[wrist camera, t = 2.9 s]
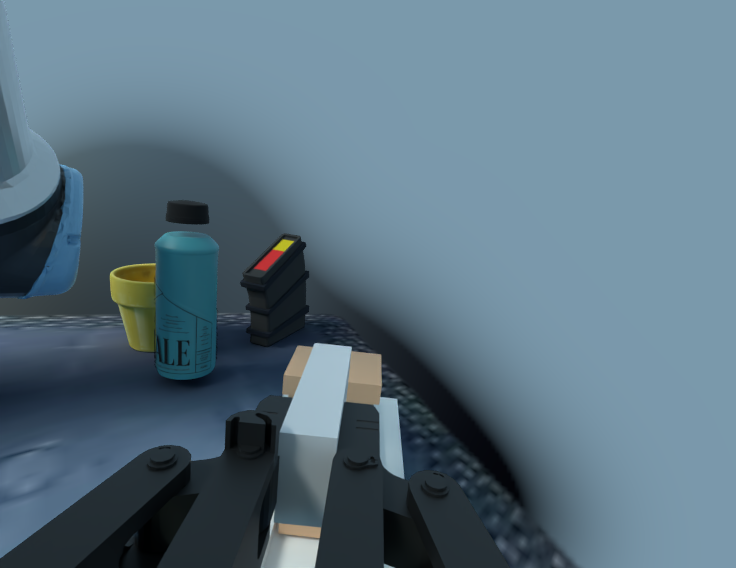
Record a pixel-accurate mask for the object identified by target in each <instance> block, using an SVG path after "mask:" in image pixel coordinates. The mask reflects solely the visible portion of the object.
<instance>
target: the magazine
mask: <svg viewBox="0 0 736 568" xmlns="http://www.w3.org/2000/svg"><path fill="white" fill-rule="evenodd" d="M305 247H306V243H305V242H301V237H300V236H297V235H291V234H282V235H281V236H280V237H279V238H278V239H277V240H276V241H275V242H274V243H273V244H272V245H271V246H269V248H267V249H266V250H265V251H264V252H263V253H262V254H261V255H260V256H259V257H258V258H257V259H256V260H255V261H254V262H253V263H252V264H251V265H250V266H249V267H248V268H247V269H246V270H245V271H244V272H243V277H244V279H243V280H242V281H241V282H240V283H241V286H242V287H246V288H247V291H248V295H249V302H250V303H249V304H248V305H246V310H250V311H251V326H250V327H248V328H247V331H246V332H247V333H250V334H251V337H250V341H251V342H252V343H255V344H259V345H263V346H266V347H268V346H270V345H272V344H274V343H276V342H277V341H279V340H281V339H283V338H285V337H286V336H288V335H290V334H292V333H294V332H295V331H297V330H299V329H301V328H303V327H304V325H305V314H306V313H308V312H309V306H308V305H306V279H308V278H309V271H305V262H304V255H303V250H304V249H305Z"/></svg>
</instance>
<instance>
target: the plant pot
mask: <svg viewBox="0 0 736 568" xmlns="http://www.w3.org/2000/svg"><path fill="white" fill-rule="evenodd" d="M155 265H156V264H138V265H130V266H124V267H120V268H117V269H115V270H113V271H112V272H111V274H110V285H111V296H112V299H113V301H115V302H116V303H118V306H119V309H120V312H121V316H122V319H123V323H124V327H125V330H126V334H127V337H128V341H129V345H130V346H131V347H132V348H133V349H135V350H138V351H142V352H154V329H155V328H156V317H155V316H156V314H155V313H156V299H155V298H156V295H155V294H156V293H155V291H156V283H154V281H155V282H156V266H155ZM154 268H155V269H154ZM154 278H155V280H154ZM154 295H155V296H154ZM154 299H155V300H154ZM154 317H155V319H154ZM154 320H155V322H154ZM155 352H156V329H155Z"/></svg>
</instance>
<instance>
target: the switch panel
mask: <svg viewBox="0 0 736 568" xmlns="http://www.w3.org/2000/svg"><path fill="white" fill-rule="evenodd" d="M282 397H288V395H284V394H283V396H282ZM374 407H375V408H376V409H377V411H378V412H379V425H380V430H379V431H380V459H381V462H382V465H383V467H384V468H385V469H386V470H387V471H389V472H390V473H392V474H393V475H395V476H397V477H400V478H402V479H404V469H403V458H402V447H401V436H400V425H399V414H398V403H397V399H393V398H384V397H380V403H379V405H375V404H374ZM274 510H275V509H274ZM278 529H279V523H274V512H273V515H272V519H271V523H270V538H269V541H268V545H267V548H266V551H265V555H264V558H263V561H262V565H261V568H315V563H316V557H317V551H318V545H319V539H320V538H315V537H306V536H297V535H287V534H278ZM384 568H394V567H391V566H389V565H386V564H384Z"/></svg>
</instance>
